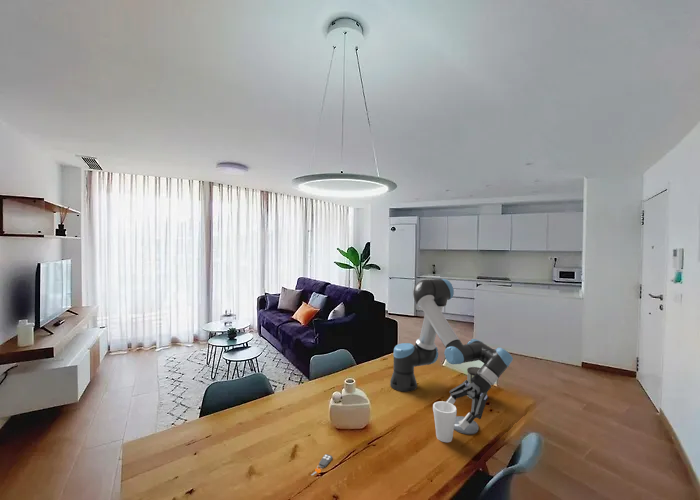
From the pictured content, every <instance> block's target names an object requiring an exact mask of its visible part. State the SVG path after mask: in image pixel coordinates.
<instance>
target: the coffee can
mask: <svg viewBox="0 0 700 500" xmlns="http://www.w3.org/2000/svg"><path fill="white" fill-rule="evenodd" d="M480 368H481V367H477V366H472V367H471V366H470V367H467V369H466V372H467V373H466V375H467V377H466V378H467V379H466V380H467V381H468V382H469V383H471V382H472V380H471V379H472V378H473V377H474V375H475V374H478V373H477V371H478V370H479V369H480ZM484 393H485V392H484ZM485 394H486V395H487V396H488V392H487V393H485ZM466 396H467V397H468V398H469V399H471V400H472V397H470V396H468V395H466Z"/></svg>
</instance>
